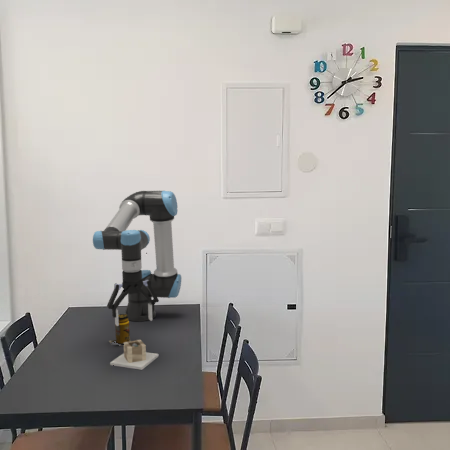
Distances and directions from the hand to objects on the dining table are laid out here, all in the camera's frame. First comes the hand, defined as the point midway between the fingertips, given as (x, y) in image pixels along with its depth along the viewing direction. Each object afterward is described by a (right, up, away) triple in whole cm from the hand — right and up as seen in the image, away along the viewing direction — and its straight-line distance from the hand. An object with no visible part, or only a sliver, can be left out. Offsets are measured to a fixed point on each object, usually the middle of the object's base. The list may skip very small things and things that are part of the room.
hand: (133, 322), depth 208 cm
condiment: (-10, -13, +22) cm, 28 cm away
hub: (0, -16, +2) cm, 16 cm away
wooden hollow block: (0, -15, +2) cm, 15 cm away
